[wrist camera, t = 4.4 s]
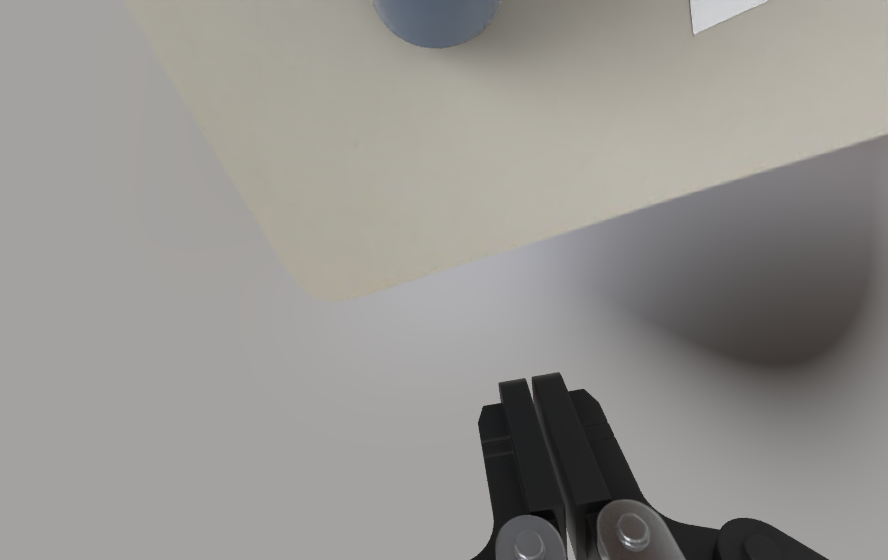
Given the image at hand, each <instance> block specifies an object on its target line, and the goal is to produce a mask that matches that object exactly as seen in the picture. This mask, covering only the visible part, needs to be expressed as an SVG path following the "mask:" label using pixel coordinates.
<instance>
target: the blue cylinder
mask: <svg viewBox="0 0 888 560" xmlns="http://www.w3.org/2000/svg"><path fill="white" fill-rule="evenodd" d="M371 1H372V3H373V6H374V8H375V10H376V12H377V14H378V16H379V17H380V19H381V20H382V21H383V23H384V24H385V25H386V26H387V27H388V28H389V29H390V30H391V31H392V32H393V33H394V34H395V35H397V36H398V37H400V38H401V39H403V40H405V41H407V42H409V43H411V44H414V45H417V46H421V47H426V48H447V47H452V46H456V45H459V44H461V43H464V42H466V41H468V40H470V39H471V38H473V37H475V36H476V35H477V34H479V33H480V32H481V31H482V30H483V29H484V28H485V27H486V26H487V25H488V24H489V23H490V22H491V20H492V19H493V18H494V16H495V14H496V13H497V11H498V9H499V7H500V4H501V2H502V0H371Z"/></svg>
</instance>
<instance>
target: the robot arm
mask: <svg viewBox="0 0 888 560" xmlns="http://www.w3.org/2000/svg"><path fill="white" fill-rule="evenodd" d="M532 389H533V400H534V404H533V401H532V397H531V394H530V391H529V388H528V384H527V382H526V379H525V378H523V379H517V380H512V381H506V382H501V383H499V391H500V399H501V403H499V404H492V405H487V406H483V408H482V412H481V415H480V418H479V421H478V426H479V432H480V438H481V444H482V450H483V456H484V463H485V468H486V475H487V481H488V487H489V492H490V499H491V505H492V510H493V517H494V527H493V532H492V535H491V538H490V540H489V542H488V544H487V545H486V547H485V548H484V549H483V550H482V551H481V552H480V553H479V554H478V555H477V556H476V557H474V558H472V559H471V560H568V557H567V535H566V528H567V531H568V535H569V538H570V541H571V545H572V548H573V551H574V555H575V558H576V560H828V559H826V558H825V557H823V556H822V555H820V554H818V553H817V552H815V551H813V550H812V549H810V548H808V547H807V546H805V545H803V544H802V543H800V542H798V541H797V540H795V539H793V538H792V537H790V536H788V535H787V534H785V533H783V532H781V531H780V530H778V529H776V528H775V527H773V526H771V525H769V524H767V523H764V522H762V521H759V520H755V519H750V518H737V519H733V520H731V521H728V522H727V523H726V524H724V525H723V526H722V528H721V529H720V530H718V529H712V528H706V527H700V526H694V525H688V524H684V523H679V522H677V521H674V520H671V519H669V518H667V517H665V516H664V515H662V514H661V513H659V512H658V511H657V510H655V509H654V508H653V507H652V506H651V505H650V504H649V503H648V502H647V500H646V499H645V498H644V496H643V494H642V493H641V491H640V489H639V487H638V484H637V482H636V480H635V478H634V476H633V474H632V472H631V470H630V468H629V465H628V463H627V461H626V459H625V457H624V455H623V453H622V451H621V449H620V447H619V445H618V442H617V440H616V438H615V437H614V434H613V432H612V430H611V427H610V425H609V424H608V423H607V419H606V417H605V415H604V413H603V410H602V408H601V406H600V404H599V402H598V401H596V400H595V399H594V398H593V397H592V396H591V395H590V394H589V393H588V392H587V391H586V390H584V389H580V390H575V391H568V390H567V388H566V385H565V383H564V381H563V378H562V376H561V374H560V373H559V372H558V373H552V374H546V375H540V376H534V377H532Z"/></svg>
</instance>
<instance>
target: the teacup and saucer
mask: <svg viewBox="0 0 888 560" xmlns="http://www.w3.org/2000/svg"><path fill="white" fill-rule="evenodd" d="M766 1H769V0H690V7H691V16H692V25H693V34H696V33H698V32H701V31H703V30H705V29H707V28H709V27H712V26H714V25H716V24H718V23H720V22H723V21H725V20H727V19H729V18H731V17H734V16H736V15H738V14H740V13H742V12H745V11H747V10H749V9H751V8H753V7H756V6H758V5H760V4H762V3H764V2H766Z"/></svg>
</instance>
